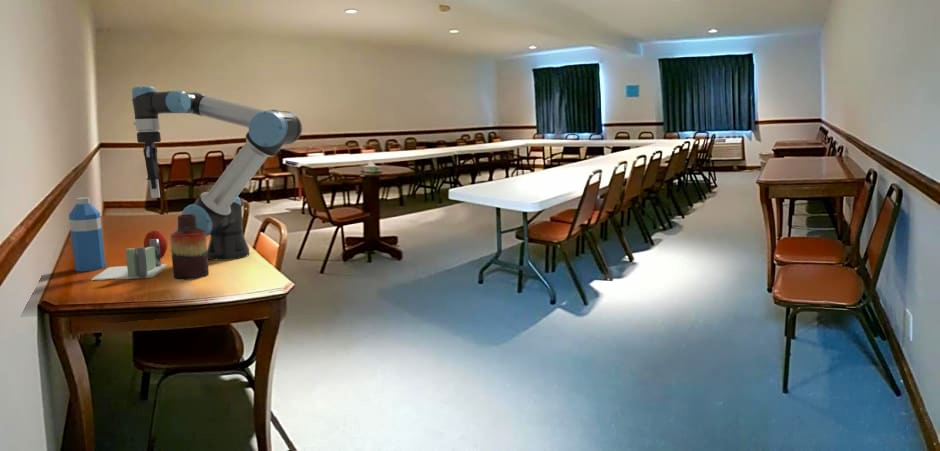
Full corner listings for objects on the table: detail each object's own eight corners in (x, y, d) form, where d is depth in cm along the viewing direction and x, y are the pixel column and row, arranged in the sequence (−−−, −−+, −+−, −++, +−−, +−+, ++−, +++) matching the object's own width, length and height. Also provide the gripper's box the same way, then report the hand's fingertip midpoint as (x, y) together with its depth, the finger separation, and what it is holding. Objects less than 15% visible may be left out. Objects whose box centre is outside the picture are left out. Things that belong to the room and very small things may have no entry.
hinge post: (162, 266, 232) (159, 238, 231) (160, 268, 229) (157, 240, 228) (153, 266, 232) (150, 239, 230) (150, 268, 229) (148, 240, 227)
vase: (215, 273, 221) (211, 213, 217) (192, 280, 211) (187, 218, 207) (190, 271, 224) (185, 212, 221) (166, 278, 214) (160, 217, 211)
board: (167, 265, 233) (167, 263, 233) (154, 277, 216) (153, 275, 216) (109, 268, 230) (109, 267, 230) (91, 280, 212) (91, 279, 212)
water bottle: (91, 271, 225) (84, 199, 221) (68, 270, 227) (60, 199, 223) (111, 265, 234) (104, 196, 230) (89, 265, 236) (81, 196, 232)
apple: (140, 257, 248) (137, 229, 247) (162, 253, 255) (159, 226, 253) (150, 260, 243) (147, 231, 241) (172, 256, 249) (169, 228, 248)
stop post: (147, 276, 217) (144, 246, 216) (145, 277, 216) (143, 247, 214) (141, 276, 217) (138, 247, 215) (139, 278, 215) (136, 248, 213)
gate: (149, 266, 228) (147, 241, 226) (156, 266, 228) (154, 240, 226) (128, 276, 213) (125, 249, 212) (135, 276, 213) (132, 249, 212)
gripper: (139, 131, 236) (147, 196, 240) (132, 131, 224) (141, 200, 227) (162, 130, 238) (169, 195, 242) (156, 130, 226) (164, 198, 230)
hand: (155, 197), depth 235 cm, fingers closed
